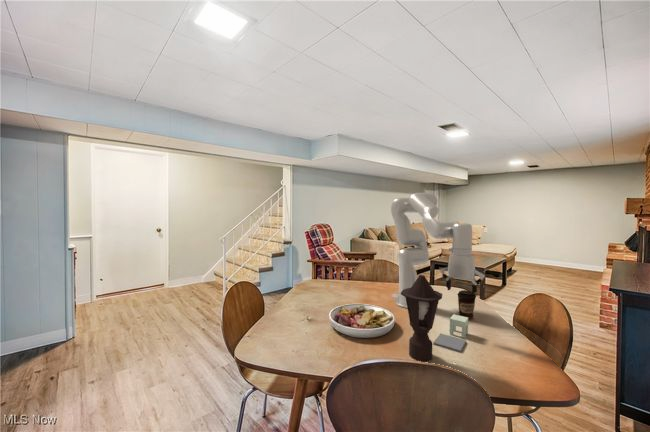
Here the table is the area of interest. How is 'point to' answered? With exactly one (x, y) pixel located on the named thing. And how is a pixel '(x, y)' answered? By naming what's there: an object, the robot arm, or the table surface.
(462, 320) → the notched sage block
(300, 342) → the table surface
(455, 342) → the felt pad
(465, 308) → the coffee cup
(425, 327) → the lantern
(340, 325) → the bowl
